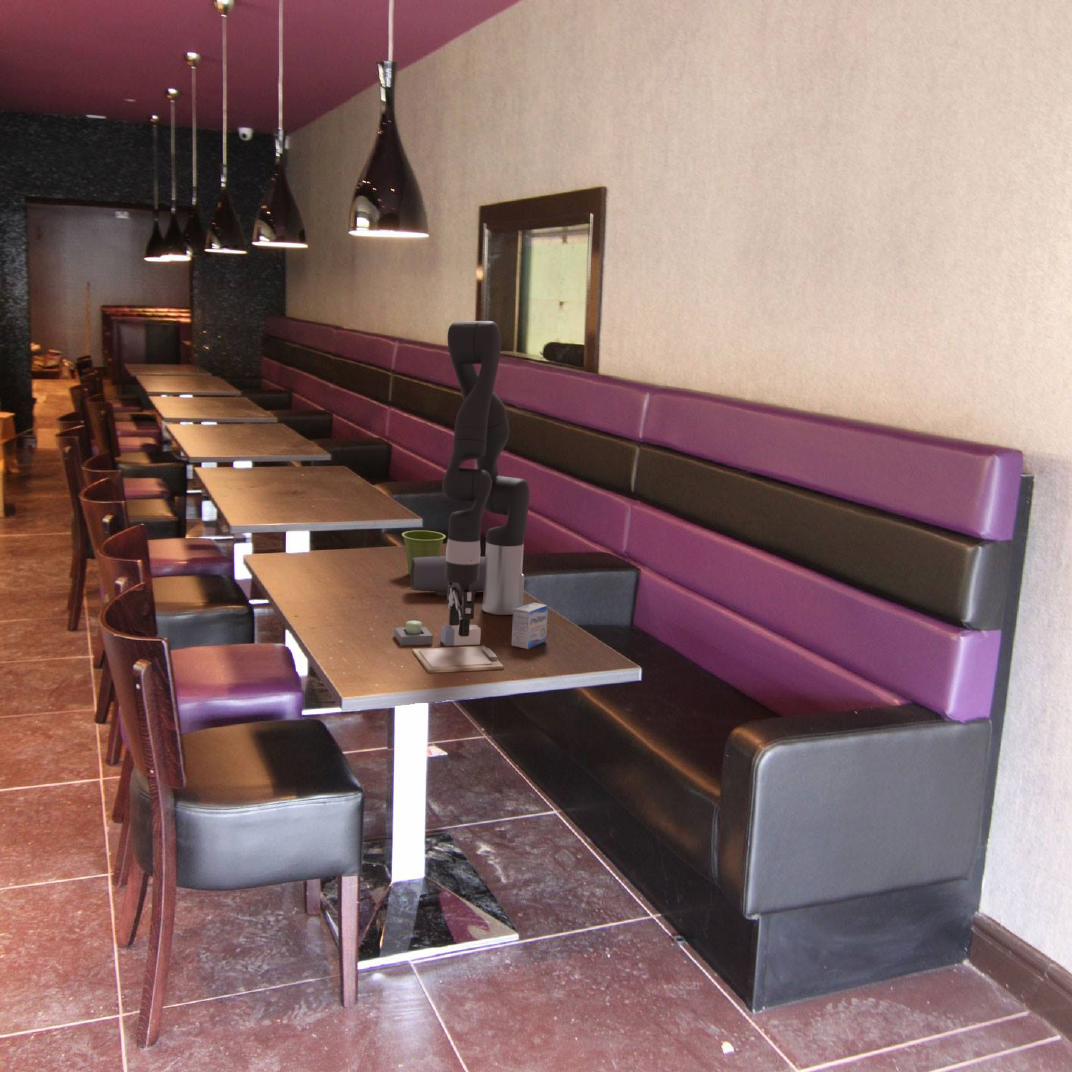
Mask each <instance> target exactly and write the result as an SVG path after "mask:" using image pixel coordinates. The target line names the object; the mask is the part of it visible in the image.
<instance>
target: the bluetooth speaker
mask: <svg viewBox="0 0 1072 1072" xmlns="http://www.w3.org/2000/svg"><path fill="white" fill-rule="evenodd" d="M445 561H446V555H441V556H440V555H439V556H435V557H418V558H412V563H411V569H410V575H409V584H410V588H411V589H412V591H417V592H418V591H419V592H431V593H432V592H433V593H435V595H437V596H447V591H448V581H447V580H446V579H445ZM484 569H485V556H480V568H479V580H478V581H477V582H475V583H471V584H470V590H472V592H475V595H476V594H477V592H483V588H484Z"/></svg>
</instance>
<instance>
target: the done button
mask: <svg viewBox="0 0 1072 1072" xmlns="http://www.w3.org/2000/svg"><path fill="white" fill-rule="evenodd" d="M422 624H423V623H422V622H421V621H419V620H408V621H406V623H405V627H406V634H407V635H409V634H421V629H422V627H423V625H422Z"/></svg>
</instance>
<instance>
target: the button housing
mask: <svg viewBox="0 0 1072 1072" xmlns="http://www.w3.org/2000/svg"><path fill="white" fill-rule="evenodd" d="M393 635H394V636H393V637H394V638H395V639H396V641H397V642H398V643H399V645H400V646H402V647H403V646H426V645H428V646H429V645H433V644H434V643H433V640H434V636H433V634H432V632H430V630H429V629H428V628H427V627H426V626H422V629H421V634H409V635H407V634H406V626H405V627H404V626H403V627H394V633H393Z"/></svg>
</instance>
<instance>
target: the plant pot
mask: <svg viewBox="0 0 1072 1072" xmlns="http://www.w3.org/2000/svg"><path fill="white" fill-rule="evenodd" d="M401 536H402V538H403V540H404V541H403V542H404V545H405V551H406V552H405V553H406V561H407V571H408V575H409V576H410V569H411V563H412V558H418V557H435V556H440V553H441V548H442V546H443V542H444V539H446V537H447V536H446V535H445V534H443V533H442V532H438V531H431V530H409V531H404V532H402V533H401Z"/></svg>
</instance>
